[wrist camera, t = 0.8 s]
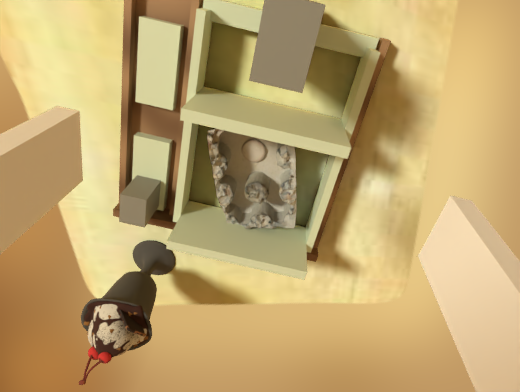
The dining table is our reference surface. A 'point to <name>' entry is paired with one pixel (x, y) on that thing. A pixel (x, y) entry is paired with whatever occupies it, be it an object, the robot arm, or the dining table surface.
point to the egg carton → (253, 179)
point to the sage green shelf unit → (266, 126)
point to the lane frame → (183, 102)
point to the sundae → (126, 306)
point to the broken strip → (160, 95)
